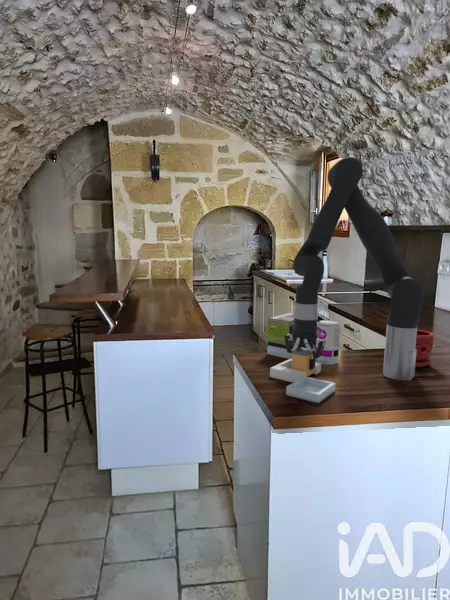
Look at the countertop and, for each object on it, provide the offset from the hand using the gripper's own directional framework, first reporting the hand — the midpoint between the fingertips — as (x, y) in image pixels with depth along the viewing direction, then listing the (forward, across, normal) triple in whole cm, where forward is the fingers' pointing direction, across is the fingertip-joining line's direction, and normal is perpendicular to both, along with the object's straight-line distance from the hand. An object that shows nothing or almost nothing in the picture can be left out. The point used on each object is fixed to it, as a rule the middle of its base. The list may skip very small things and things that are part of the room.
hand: (303, 367), depth 142 cm
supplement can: (+3, 0, -20) cm, 20 cm away
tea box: (+3, +17, -22) cm, 28 cm away
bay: (+3, +2, 0) cm, 4 cm away
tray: (+3, -9, +13) cm, 16 cm away
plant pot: (+3, -25, -39) cm, 46 cm away
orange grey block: (+2, 0, 0) cm, 2 cm away
